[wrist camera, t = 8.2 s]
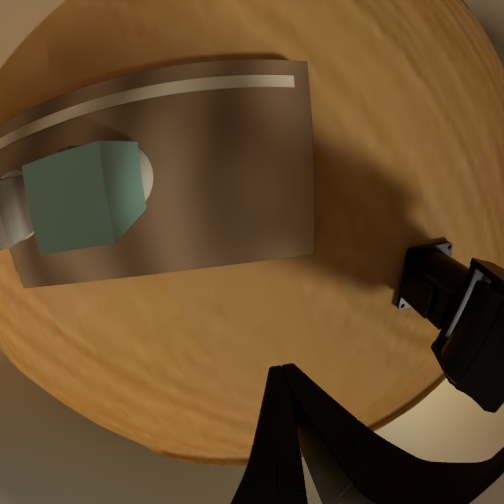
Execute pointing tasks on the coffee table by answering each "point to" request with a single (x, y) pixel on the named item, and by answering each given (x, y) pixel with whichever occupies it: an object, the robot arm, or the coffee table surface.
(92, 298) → the coffee table surface
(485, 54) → the coffee table surface
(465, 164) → the coffee table surface
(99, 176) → the sage green box
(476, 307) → the robot arm
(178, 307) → the coffee table surface
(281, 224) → the board
